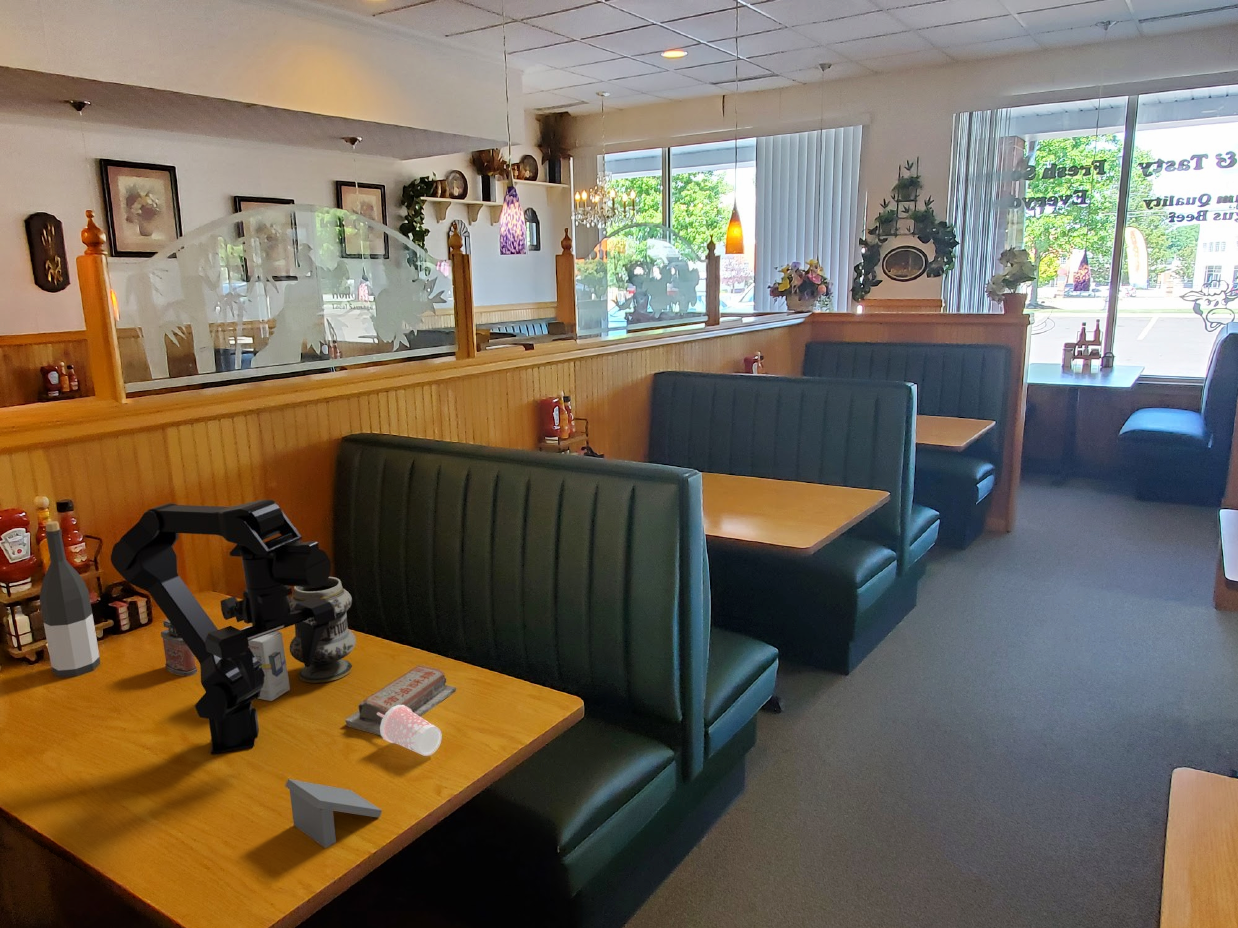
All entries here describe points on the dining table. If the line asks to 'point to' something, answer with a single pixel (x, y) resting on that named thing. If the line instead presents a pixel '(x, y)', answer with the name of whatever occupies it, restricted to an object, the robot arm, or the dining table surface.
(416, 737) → the beverage cup
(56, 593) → the wine bottle
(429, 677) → the packaged product
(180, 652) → the lighter
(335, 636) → the apothecary jar
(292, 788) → the ramp
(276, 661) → the ink box
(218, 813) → the dining table surface
